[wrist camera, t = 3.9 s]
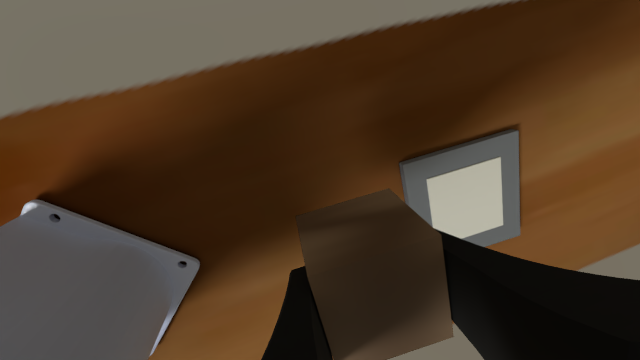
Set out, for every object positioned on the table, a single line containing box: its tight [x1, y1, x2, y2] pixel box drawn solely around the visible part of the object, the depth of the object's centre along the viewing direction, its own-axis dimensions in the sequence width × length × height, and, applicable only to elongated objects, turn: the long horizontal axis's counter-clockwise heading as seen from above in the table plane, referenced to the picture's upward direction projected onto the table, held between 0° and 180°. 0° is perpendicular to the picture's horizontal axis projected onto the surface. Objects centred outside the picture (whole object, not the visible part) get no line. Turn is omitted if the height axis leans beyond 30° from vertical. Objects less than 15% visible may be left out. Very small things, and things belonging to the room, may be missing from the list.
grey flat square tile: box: [399, 129, 520, 247], centre depth 21 cm, size 8×8×1 cm
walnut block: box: [296, 188, 453, 360], centre depth 11 cm, size 4×4×4 cm
